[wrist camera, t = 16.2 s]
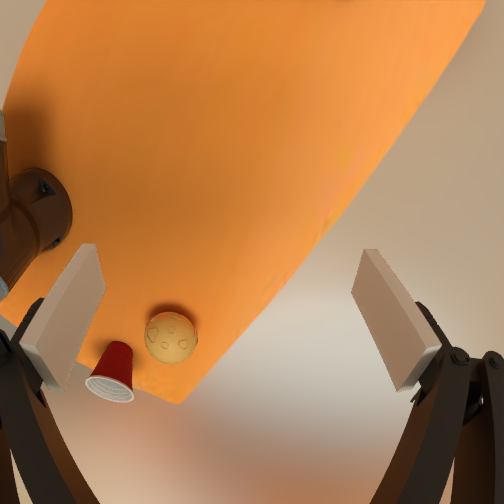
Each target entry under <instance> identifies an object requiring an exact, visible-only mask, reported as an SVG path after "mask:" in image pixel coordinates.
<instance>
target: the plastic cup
mask: <svg viewBox="0 0 504 504" xmlns="http://www.w3.org/2000/svg"><path fill="white" fill-rule="evenodd" d="M132 356H133V354H132V349H131V348H130V347H129V346H128V345H126V344H125V343H122V342H118V341H115V342H112V343H110V345H108V347H107V349H106V351H105V352H104V353H103V355H102V357H101V359H100V360H99V362H98V364H97V366H96V367H95V369H94V370H93V372H92V373H91V375H90V376H89V377H88V378H87V379H86V385H87V387H88V388H89V389H90V390H91V391H92V392H93V393H95V394H96V395H98V396H100V397H102V398H105V399H108V400H111V401H115V402H129V401H132V400H133V398H134V394H133V391H132V389H133V388H132Z"/></svg>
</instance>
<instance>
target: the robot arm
mask: <svg viewBox="0 0 504 504" xmlns="http://www.w3.org/2000/svg"><path fill="white" fill-rule="evenodd" d="M6 142H7V138H6V136H5V118H4V114H3V112H2V111H1V110H0V302H1V301H2V300H3V299H4V298H5V297H7V295H8V293H9V292H10V290H11V289H12V288H13V286H14V285H15V283H16V282H17V281H18V279H19V278H20V277H21V275H22V274H23V273H24V271H25V270H26V269H27V267H28V266H29V265H30V264H31V262H32V261H33V260H34V259H35V257H37V256H39V255H41V254H43V253H45V252H47V251H50V250H52V249H54V248H55V247H57V246H58V245H59V244H60V243H61V242H62V241H63V239H64V238H65V237H66V236H67V234H68V232H69V230H70V227H71V223H72V209H71V204H70V200H69V197H68V195H67V193H66V191H65V189H64V188H63V186H62V185H61V183H60V182H59V181H58V180H57V179H56V178H55V177H54V176H53V175H52V174H50V173H49V172H47V171H45V170H42V169H38V168H30V169H26V170H24V171H22V172H20V173H19V174H17V175H16V176H14V177H13V178H12V179H11V180H10V181H9V176H8V165H7V149H6ZM105 291H106V286H105V283H104V279H103V275H102V270H101V266H100V262H99V257H98V253H97V248H96V244H82V245H81V246H80V247H79V249H78V250H77V252H76V253H75V254H74V256H73V257H72V259H71V260H70V261H69V263H68V264H67V266H66V267H65V269H64V270H63V272H62V273H61V275H60V276H59V277H58V279H57V280H56V282H55V284H54V285H53V287H52V288H51V290H50V291H49V293H48V294H47V296H46V298H39V299H38V300H37V301H36V302H35V303H33V304H32V305H31V307H30V309H29V310H28V312H27V315H25V317H24V318H23V322H21V323H20V325H19V327H18V328H17V330H16V332H15V334H14V335H13V337H12V339H11V341H9V339H8V337H7V335H6V333H5V332H4V331H2V330H1V329H0V504H20V501H19V497H18V493H17V488H16V483H15V478H14V473H13V466H12V459H11V452H10V449H11V451H12V454H13V457H14V460H15V463H16V465H17V468H18V470H19V473H20V476H21V478H22V480H23V483H24V485H25V487H26V489H27V492H28V494H29V496H30V498H31V500H32V502H33V504H100V503H99V501H98V500H97V498H96V497H95V495H94V494H93V492H92V490H91V489H90V487H89V486H88V484H87V482H86V481H85V479H84V477H83V476H82V474H81V472H80V470H79V469H78V467H77V465H76V463H75V461H74V459H73V457H72V456H71V454H70V452H69V450H68V448H67V446H66V444H65V442H64V440H63V438H62V436H61V434H60V431H59V429H58V427H57V425H56V423H55V420H54V418H53V415H52V413H51V411H50V408H49V406H48V403H47V401H46V398H45V396H44V393H43V391H42V390H41V388H40V387H41V384H42V382H44V383H45V384H46V386H47V387H48V389H50V390H54V391H59V392H65V389H66V386H67V383H68V380H69V377H70V374H71V371H72V369H73V366H74V364H75V361H76V358H77V356H78V353H79V351H80V348H81V346H82V343H83V341H84V338H85V336H86V334H87V331H88V329H89V326H90V324H91V322H92V319H93V317H94V315H95V313H96V310H97V308H98V306H99V304H100V301H101V299H102V297H103V295H104V293H105ZM351 293H352V295H353V297H354V299H355V301H356V304H357V305H358V308H359V310H360V312H361V314H362V315H363V318H364V320H365V322H366V324H367V326H368V328H369V330H370V333H371V335H372V337H373V339H374V341H375V343H376V345H377V348H378V350H379V352H380V354H381V357H382V359H383V361H384V363H385V365H386V368H387V370H388V372H389V375H390V377H391V379H392V382H393V384H394V386H395V388H396V391H397V392H402V391H406V390H410V389H412V388H413V387H414V385H415V384H416V383H417V381H419V383H420V385H421V388H420V389H419V390H418V392H417V393H416V394H415V395H414V397H413V398H412V400H411V401H410V402H413V401H414V400H415V402H414V405H413V408H412V411H411V413H410V416H409V419H408V422H407V424H406V427H405V429H404V432H403V435H402V437H401V439H400V442H399V444H398V447H397V449H396V451H395V454H394V456H393V458H392V460H391V462H390V465H389V467H388V469H387V471H386V473H385V475H384V477H383V479H382V481H381V483H380V485H379V487H378V489H377V491H376V493H375V495H374V496H373V498H372V500H371V502H370V504H439V502H440V500H441V497H442V494H443V491H444V488H445V486H446V483H447V480H448V477H449V473H450V470H451V467H452V463H453V460H454V474H453V486H452V494H451V502H450V504H504V359H503V357H502V356H501V355H500V354H498V353H497V352H494V351H488V352H486V353H485V355H484V356H483V358H482V359H476V358H470V357H469V355H468V354H467V353H466V352H465V351H464V350H463V349H461V348H458V347H452V346H451V344H450V342H449V341H448V339H447V337H446V336H445V334H444V333H443V331H442V330H441V328H440V327H439V325H437V322H436V321H435V319H434V318H433V316H432V315H431V313H430V312H429V310H428V309H427V308H426V307H425V306H424V305H423V304H421V303H420V302H414V300H413V299H412V297H411V296H410V295H409V293H408V292H407V290H406V289H405V287H404V286H403V284H402V283H401V282H400V280H399V279H398V277H397V276H396V275H395V273H394V272H393V271H392V269H391V268H390V266H389V265H388V264H387V262H386V261H385V259H384V258H383V257H382V256H381V254H380V253H379V251H378V250H377V249H364V250H363V254H362V257H361V261H360V264H359V268H358V271H357V275H356V278H355V282H354V285H353V288H352V291H351ZM482 398H483V404H482V400H481V399H482ZM454 456H455V459H454Z"/></svg>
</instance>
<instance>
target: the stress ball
mask: <svg viewBox="0 0 504 504" xmlns="http://www.w3.org/2000/svg"><path fill="white" fill-rule="evenodd" d="M144 339H145V344H146V347H147V349H148V351H149V352H150V354H151V355H152V356H153V357H154V358H156V359H157V360H159V361H161V362H163V363H167V364H175V363H180V362H182V361H184V360H186V359H187V358H188V357H189V356H190V355H191V354H192V352H193V351H194V349H195V346H196V345H197V342H198V335H197V331H196V330H195V329H194V327H193V325H192V323H191V322H190V321H189V320H188V319H187V318H186V317H185V316H183V315H181V314H179V313H175V312H163V313H160V314H158V315H155V316H153V317H152V318H151V320H150V322H149V323H148V324H147V325H146V327H145V335H144Z"/></svg>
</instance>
